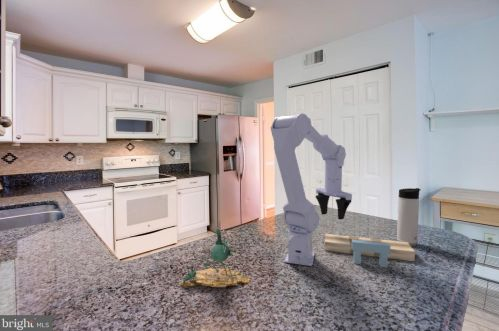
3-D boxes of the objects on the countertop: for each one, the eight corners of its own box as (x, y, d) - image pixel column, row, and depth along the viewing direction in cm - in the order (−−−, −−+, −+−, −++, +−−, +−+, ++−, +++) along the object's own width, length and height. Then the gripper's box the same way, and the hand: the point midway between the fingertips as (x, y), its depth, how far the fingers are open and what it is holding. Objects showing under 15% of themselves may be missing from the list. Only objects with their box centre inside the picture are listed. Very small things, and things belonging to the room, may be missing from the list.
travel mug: (421, 247, 87) (424, 189, 85) (400, 245, 88) (402, 189, 87) (413, 240, 93) (415, 187, 91) (394, 239, 94) (396, 186, 93)
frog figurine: (186, 271, 70) (191, 219, 69) (250, 279, 69) (256, 227, 69) (175, 290, 60) (181, 230, 59) (249, 299, 60) (256, 239, 59)
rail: (414, 261, 76) (414, 251, 76) (324, 250, 84) (324, 241, 84) (407, 251, 83) (407, 242, 83) (325, 242, 92) (325, 233, 91)
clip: (389, 268, 72) (390, 246, 71) (351, 263, 75) (352, 242, 74) (387, 264, 74) (388, 243, 73) (351, 259, 77) (351, 239, 77)
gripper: (358, 180, 85) (357, 219, 86) (325, 176, 98) (324, 210, 98) (344, 181, 82) (343, 222, 82) (312, 177, 94) (311, 213, 95)
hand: (332, 216), depth 90 cm, fingers open, 7 cm apart
